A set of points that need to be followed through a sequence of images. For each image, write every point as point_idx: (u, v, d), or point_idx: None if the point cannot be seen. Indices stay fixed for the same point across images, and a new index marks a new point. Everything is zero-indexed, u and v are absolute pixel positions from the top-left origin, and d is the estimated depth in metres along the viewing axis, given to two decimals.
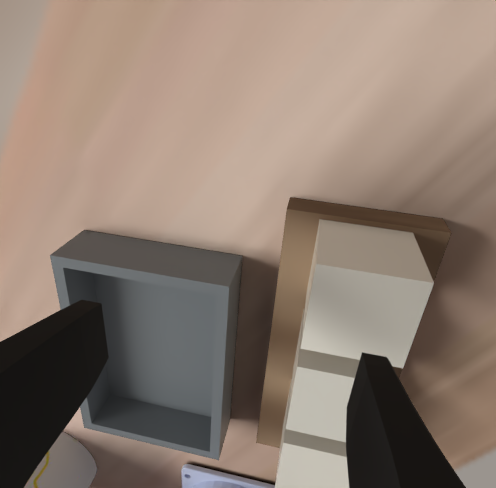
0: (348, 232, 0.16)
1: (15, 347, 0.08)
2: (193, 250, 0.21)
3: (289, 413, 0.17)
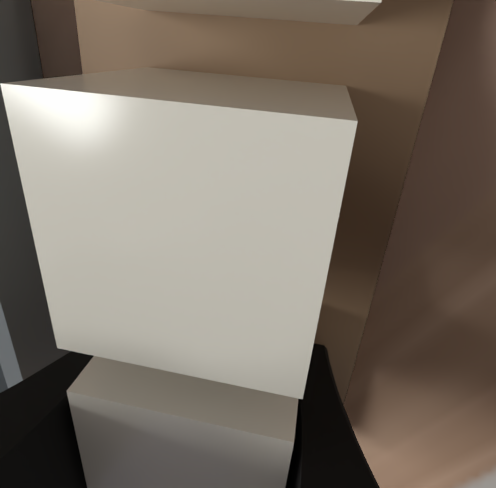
0: None
1: (80, 361, 0.08)
2: None
3: (48, 294, 0.06)
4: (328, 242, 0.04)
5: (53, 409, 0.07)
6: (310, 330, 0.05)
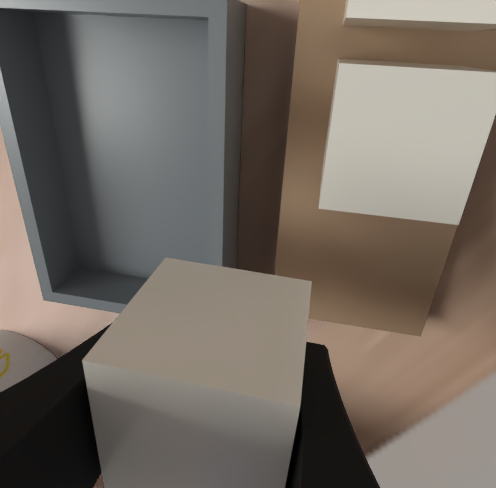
0: None
1: (79, 361, 0.08)
2: None
3: (324, 174, 0.11)
4: (486, 132, 0.10)
5: (52, 409, 0.07)
6: (469, 181, 0.10)
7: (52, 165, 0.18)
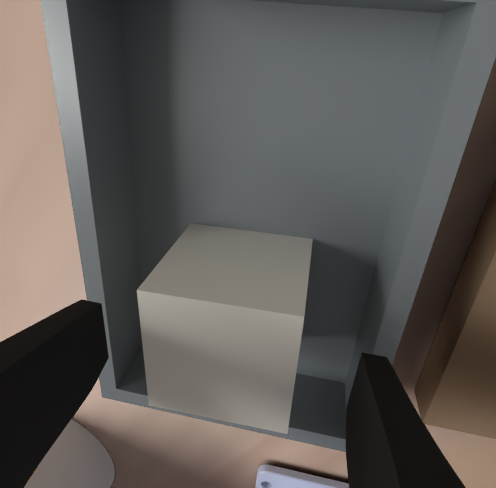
0: None
1: (15, 347, 0.08)
2: None
3: None
4: None
5: None
6: None
7: (126, 216, 0.12)
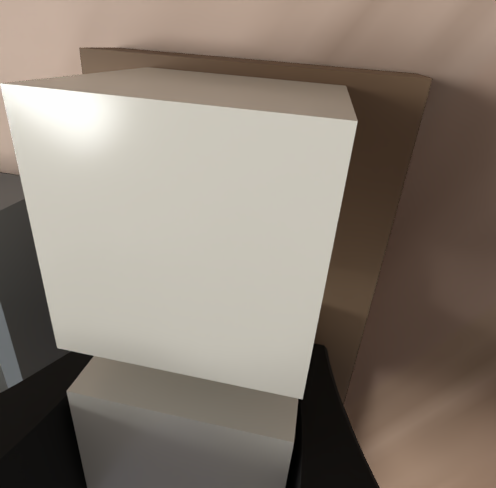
0: (190, 75, 0.07)
1: (80, 361, 0.08)
2: None
3: None
4: None
5: (53, 409, 0.07)
6: None
7: None
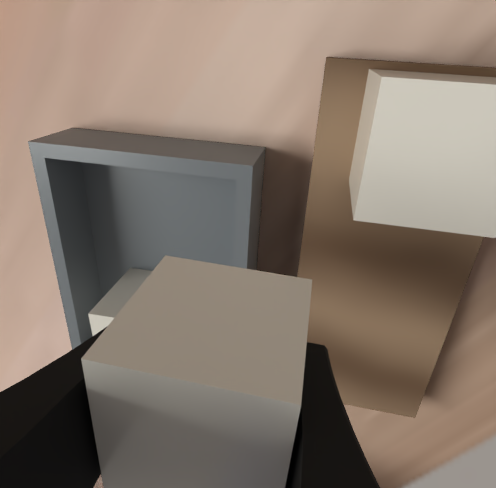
0: (411, 73, 0.12)
1: (80, 361, 0.08)
2: (204, 142, 0.17)
3: (100, 459, 0.08)
4: (288, 454, 0.07)
5: (52, 409, 0.07)
6: None
7: (89, 265, 0.20)
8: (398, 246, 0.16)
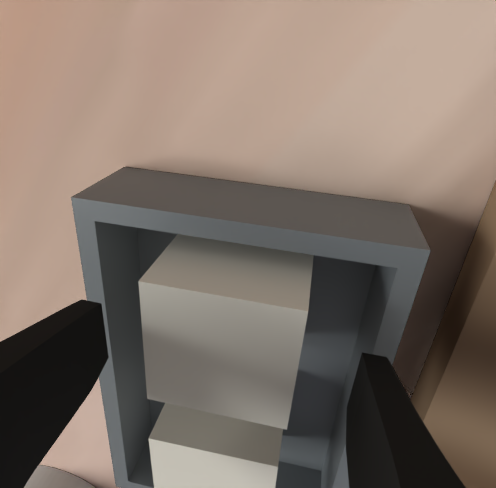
0: None
1: (15, 347, 0.08)
2: (319, 195, 0.12)
3: (146, 371, 0.10)
4: (297, 356, 0.09)
5: None
6: (289, 395, 0.10)
7: (137, 346, 0.15)
8: None
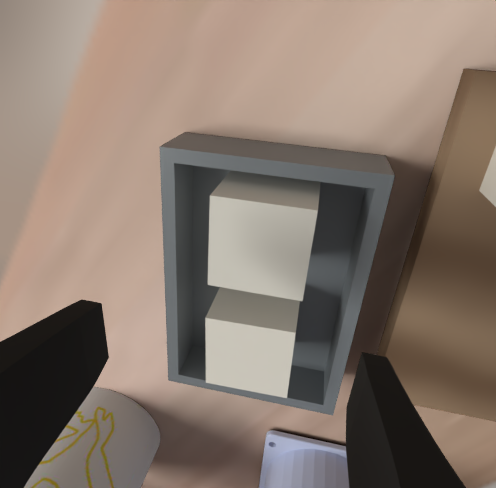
0: None
1: (15, 347, 0.08)
2: (323, 149, 0.17)
3: (209, 262, 0.16)
4: (310, 244, 0.14)
5: None
6: (305, 274, 0.15)
7: (188, 268, 0.20)
8: None
